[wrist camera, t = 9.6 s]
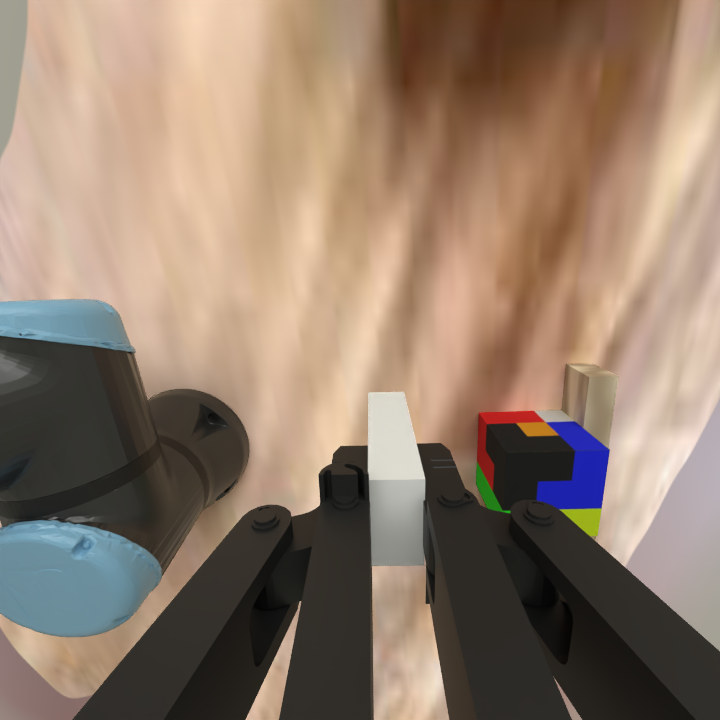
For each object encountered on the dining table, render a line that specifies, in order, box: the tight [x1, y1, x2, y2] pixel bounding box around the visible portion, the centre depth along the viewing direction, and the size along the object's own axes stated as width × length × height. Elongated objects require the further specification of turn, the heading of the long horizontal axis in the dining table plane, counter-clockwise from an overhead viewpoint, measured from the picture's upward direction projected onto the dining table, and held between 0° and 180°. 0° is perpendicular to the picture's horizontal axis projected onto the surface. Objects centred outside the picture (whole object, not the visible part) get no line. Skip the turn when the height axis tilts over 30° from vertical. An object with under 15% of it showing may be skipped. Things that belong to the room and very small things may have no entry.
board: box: [562, 363, 618, 540], centre depth 47 cm, size 3×22×5 cm, turn 2°
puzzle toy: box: [476, 410, 610, 536], centre depth 45 cm, size 10×10×10 cm
